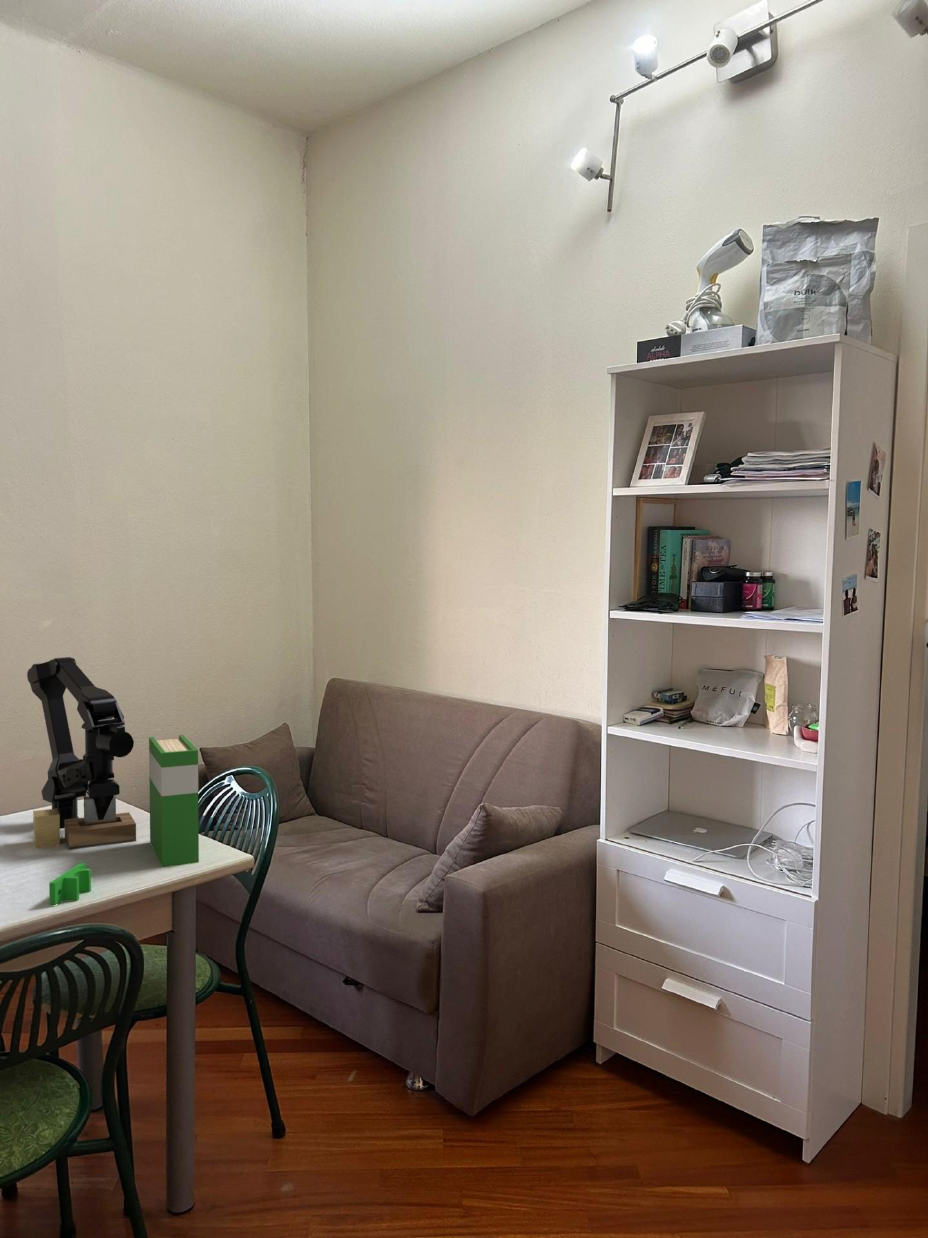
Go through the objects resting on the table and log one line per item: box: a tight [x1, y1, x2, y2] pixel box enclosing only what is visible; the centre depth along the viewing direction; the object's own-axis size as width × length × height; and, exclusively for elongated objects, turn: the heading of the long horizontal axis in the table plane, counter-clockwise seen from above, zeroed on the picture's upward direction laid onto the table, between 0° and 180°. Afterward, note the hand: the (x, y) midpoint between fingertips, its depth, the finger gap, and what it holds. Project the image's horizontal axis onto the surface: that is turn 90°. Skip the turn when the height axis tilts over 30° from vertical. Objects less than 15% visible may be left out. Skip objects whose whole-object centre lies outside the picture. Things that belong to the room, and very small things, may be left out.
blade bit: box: [83, 795, 117, 826], centre depth 211 cm, size 2×6×7 cm, turn 118°
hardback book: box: [148, 734, 200, 868], centre depth 203 cm, size 18×7×24 cm, turn 26°
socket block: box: [64, 811, 137, 850], centre depth 212 cm, size 10×14×4 cm
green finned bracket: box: [48, 862, 92, 906], centre depth 178 cm, size 11×4×5 cm, turn 174°
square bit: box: [32, 808, 61, 849], centre depth 208 cm, size 5×5×7 cm
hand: (99, 818), depth 211 cm, fingers closed on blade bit, 2 cm apart
